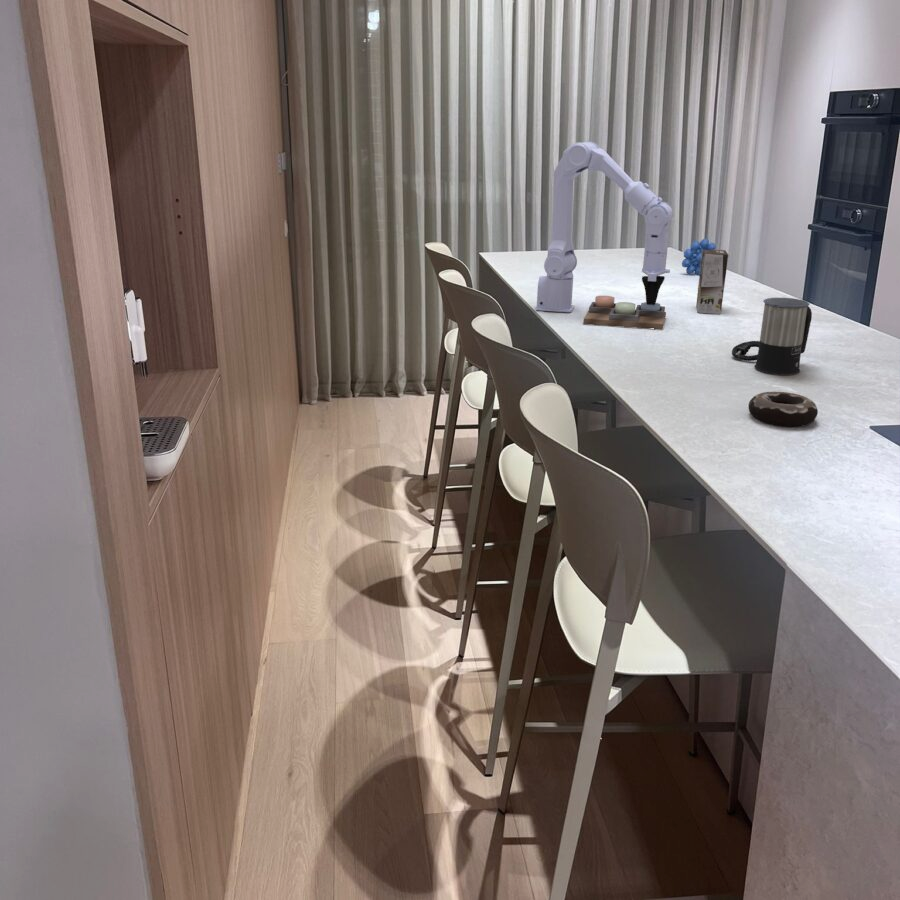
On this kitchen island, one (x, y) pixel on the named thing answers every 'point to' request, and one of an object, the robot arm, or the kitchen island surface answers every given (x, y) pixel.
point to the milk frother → (779, 337)
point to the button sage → (625, 308)
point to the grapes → (696, 255)
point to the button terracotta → (604, 301)
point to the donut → (783, 409)
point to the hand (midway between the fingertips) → (650, 304)
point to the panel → (625, 317)
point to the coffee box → (711, 281)
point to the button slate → (650, 307)
